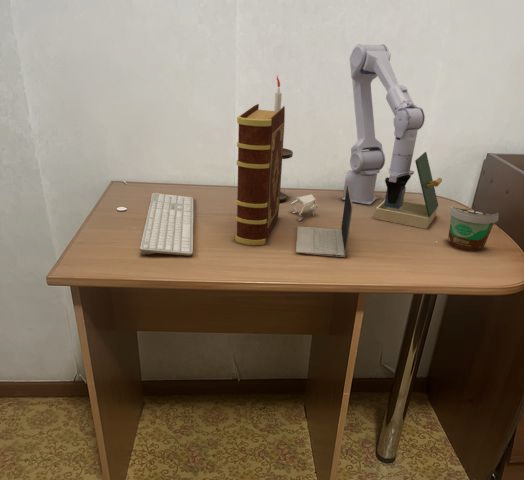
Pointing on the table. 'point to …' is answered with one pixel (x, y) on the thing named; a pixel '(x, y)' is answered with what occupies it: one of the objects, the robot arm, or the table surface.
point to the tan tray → (406, 214)
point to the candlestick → (286, 152)
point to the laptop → (326, 236)
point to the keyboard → (169, 225)
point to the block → (399, 200)
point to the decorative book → (259, 173)
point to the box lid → (427, 183)
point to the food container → (470, 228)
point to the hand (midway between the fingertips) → (393, 201)
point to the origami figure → (305, 203)
